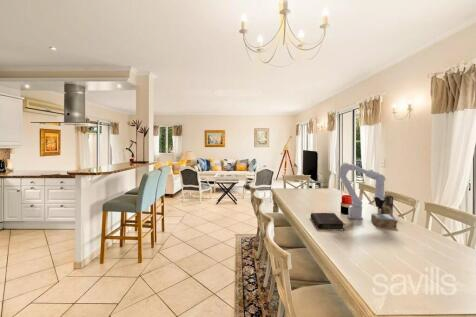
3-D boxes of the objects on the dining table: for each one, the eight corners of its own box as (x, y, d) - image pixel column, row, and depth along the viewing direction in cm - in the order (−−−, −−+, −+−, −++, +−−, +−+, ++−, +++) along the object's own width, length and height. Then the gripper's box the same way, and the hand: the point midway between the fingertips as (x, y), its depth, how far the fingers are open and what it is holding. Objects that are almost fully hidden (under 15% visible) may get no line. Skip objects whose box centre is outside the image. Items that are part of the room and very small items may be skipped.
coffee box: (388, 213, 199) (389, 194, 198) (392, 216, 192) (393, 196, 192) (377, 213, 200) (377, 194, 199) (380, 215, 193) (381, 196, 192)
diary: (317, 230, 162) (317, 222, 162) (310, 218, 187) (310, 212, 187) (346, 231, 160) (346, 223, 160) (335, 219, 185) (335, 213, 185)
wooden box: (376, 226, 168) (376, 219, 167) (371, 220, 180) (371, 214, 180) (396, 228, 165) (396, 220, 164) (389, 222, 177) (390, 215, 177)
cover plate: (377, 219, 169) (377, 217, 169) (373, 215, 179) (373, 213, 179) (394, 221, 166) (394, 219, 166) (388, 216, 177) (388, 214, 177)
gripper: (388, 192, 174) (388, 210, 175) (382, 188, 188) (381, 205, 189) (378, 191, 176) (377, 209, 177) (372, 188, 190) (371, 204, 191)
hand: (378, 207), depth 183 cm, fingers open, 5 cm apart
